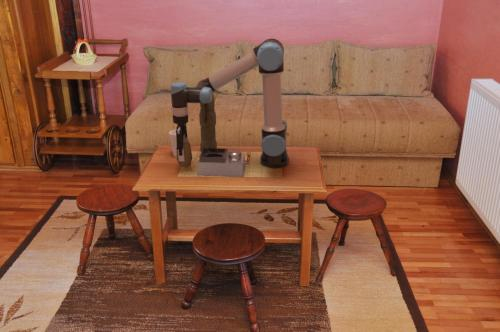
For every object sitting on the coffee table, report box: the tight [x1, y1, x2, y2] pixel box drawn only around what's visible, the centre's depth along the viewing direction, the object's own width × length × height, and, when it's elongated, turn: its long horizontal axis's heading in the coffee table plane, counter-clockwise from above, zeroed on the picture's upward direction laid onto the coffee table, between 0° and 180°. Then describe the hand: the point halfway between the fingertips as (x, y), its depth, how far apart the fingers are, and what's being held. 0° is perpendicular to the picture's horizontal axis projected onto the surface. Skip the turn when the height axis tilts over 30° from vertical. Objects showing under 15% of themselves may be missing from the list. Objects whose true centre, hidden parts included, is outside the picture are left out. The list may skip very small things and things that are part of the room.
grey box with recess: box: [197, 147, 246, 178], centre depth 263 cm, size 22×18×10 cm
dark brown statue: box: [198, 92, 218, 153], centre depth 276 cm, size 9×12×35 cm
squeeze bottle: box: [176, 134, 193, 168], centre depth 260 cm, size 8×8×18 cm
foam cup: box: [168, 128, 177, 158], centre depth 280 cm, size 10×9×13 cm
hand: (183, 157), depth 262 cm, fingers closed on squeeze bottle, 8 cm apart
